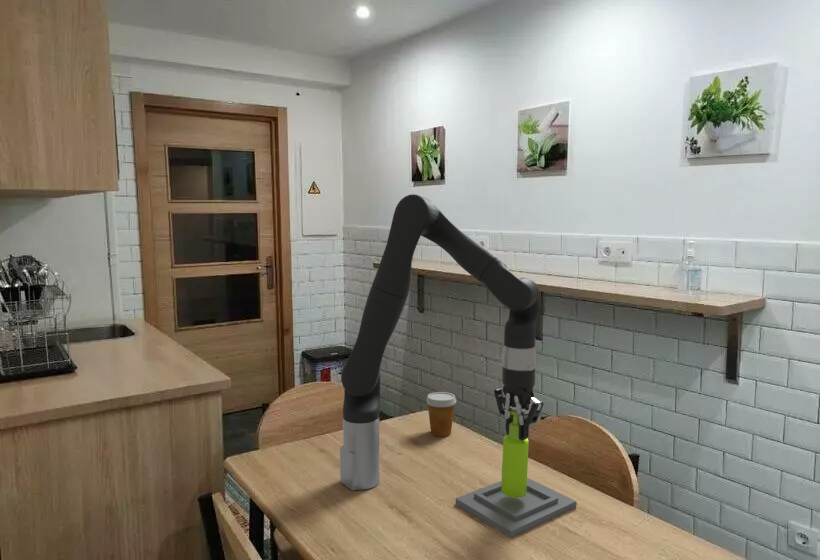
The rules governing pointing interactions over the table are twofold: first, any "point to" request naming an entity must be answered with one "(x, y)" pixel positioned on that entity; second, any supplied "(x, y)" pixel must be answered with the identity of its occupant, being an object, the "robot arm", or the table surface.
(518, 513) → the stand
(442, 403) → the disposable coffee cup
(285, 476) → the table surface
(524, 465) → the soap dispenser
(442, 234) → the robot arm
